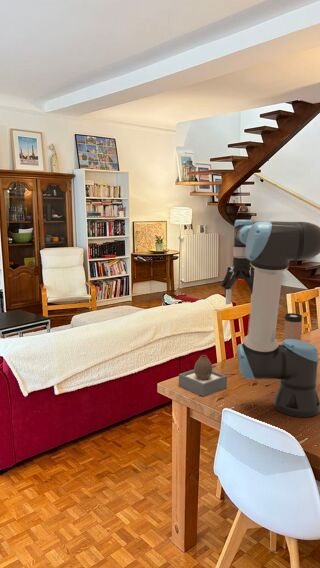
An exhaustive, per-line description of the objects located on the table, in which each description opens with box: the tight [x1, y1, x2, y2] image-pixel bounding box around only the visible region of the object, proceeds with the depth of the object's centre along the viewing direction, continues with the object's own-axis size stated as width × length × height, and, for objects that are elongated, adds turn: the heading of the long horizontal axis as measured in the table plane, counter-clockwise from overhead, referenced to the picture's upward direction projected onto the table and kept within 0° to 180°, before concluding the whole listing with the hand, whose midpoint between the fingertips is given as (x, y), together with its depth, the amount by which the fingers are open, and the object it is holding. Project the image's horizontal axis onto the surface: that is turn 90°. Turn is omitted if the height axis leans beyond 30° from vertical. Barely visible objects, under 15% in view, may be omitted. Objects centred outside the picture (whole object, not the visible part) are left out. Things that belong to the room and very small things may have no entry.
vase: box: [193, 354, 213, 380], centre depth 166 cm, size 7×7×9 cm
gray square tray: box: [178, 369, 228, 397], centre depth 167 cm, size 13×13×5 cm
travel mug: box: [283, 312, 303, 341], centre depth 201 cm, size 8×8×20 cm
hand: (240, 306), depth 185 cm, fingers open, 13 cm apart
